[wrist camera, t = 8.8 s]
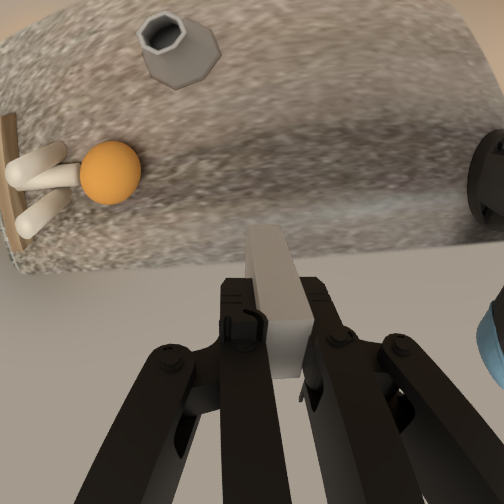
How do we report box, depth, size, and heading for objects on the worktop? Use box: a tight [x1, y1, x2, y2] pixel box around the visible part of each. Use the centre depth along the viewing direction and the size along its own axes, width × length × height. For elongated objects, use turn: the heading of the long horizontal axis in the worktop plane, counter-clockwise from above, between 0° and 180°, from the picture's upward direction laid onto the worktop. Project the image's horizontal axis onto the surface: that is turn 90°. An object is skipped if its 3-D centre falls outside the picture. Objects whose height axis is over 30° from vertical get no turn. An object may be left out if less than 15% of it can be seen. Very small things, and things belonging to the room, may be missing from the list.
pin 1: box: [5, 141, 67, 188], centre depth 22 cm, size 2×2×8 cm
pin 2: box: [15, 187, 72, 239], centre depth 24 cm, size 2×2×8 cm
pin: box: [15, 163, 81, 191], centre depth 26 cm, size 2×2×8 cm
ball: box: [80, 141, 141, 205], centre depth 25 cm, size 6×6×6 cm
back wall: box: [0, 113, 34, 251], centre depth 25 cm, size 2×16×3 cm, turn 177°
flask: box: [136, 10, 221, 90], centre depth 19 cm, size 7×7×10 cm
